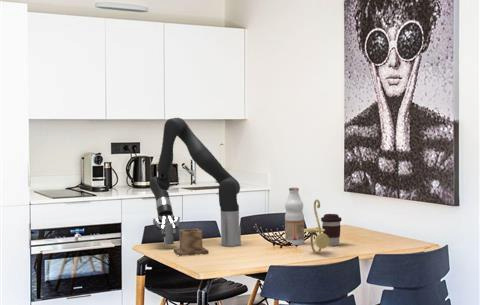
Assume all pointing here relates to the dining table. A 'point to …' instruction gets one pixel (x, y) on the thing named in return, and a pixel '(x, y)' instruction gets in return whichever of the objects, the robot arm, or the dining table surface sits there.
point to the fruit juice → (294, 218)
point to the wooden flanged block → (190, 243)
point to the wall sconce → (322, 238)
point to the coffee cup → (332, 228)
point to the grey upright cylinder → (168, 233)
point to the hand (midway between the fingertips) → (169, 235)
